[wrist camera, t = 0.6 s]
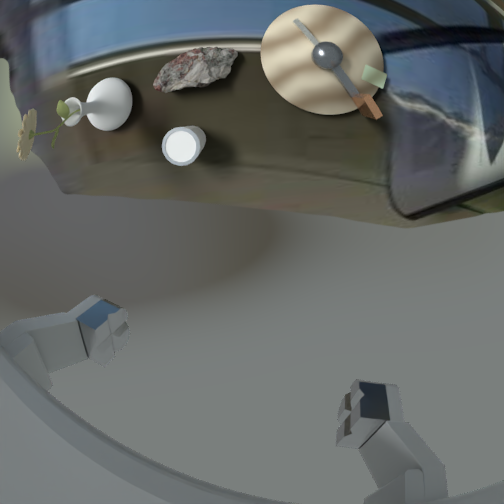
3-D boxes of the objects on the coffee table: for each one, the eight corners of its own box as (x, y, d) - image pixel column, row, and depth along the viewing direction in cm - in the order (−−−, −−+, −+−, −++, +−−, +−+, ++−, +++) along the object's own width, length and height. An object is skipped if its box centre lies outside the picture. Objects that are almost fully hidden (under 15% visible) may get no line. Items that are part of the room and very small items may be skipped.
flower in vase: (111, 67, 39) (20, 71, 18) (146, 96, 43) (61, 111, 22) (80, 116, 44) (-6, 147, 23) (112, 145, 48) (29, 189, 27)
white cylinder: (213, 151, 49) (205, 159, 43) (181, 160, 50) (168, 170, 44) (203, 117, 45) (193, 121, 39) (170, 128, 46) (156, 134, 41)
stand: (235, 45, 37) (234, 44, 36) (331, -9, 29) (333, -12, 27) (310, 135, 46) (312, 137, 44) (400, 81, 37) (404, 81, 36)
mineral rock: (236, 45, 37) (233, 40, 33) (238, 84, 41) (235, 83, 38) (159, 57, 38) (149, 55, 35) (161, 94, 43) (152, 95, 39)
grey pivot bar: (283, 27, 33) (284, 17, 27) (306, 14, 31) (311, 2, 25) (354, 120, 41) (367, 124, 35) (376, 107, 39) (391, 110, 34)
